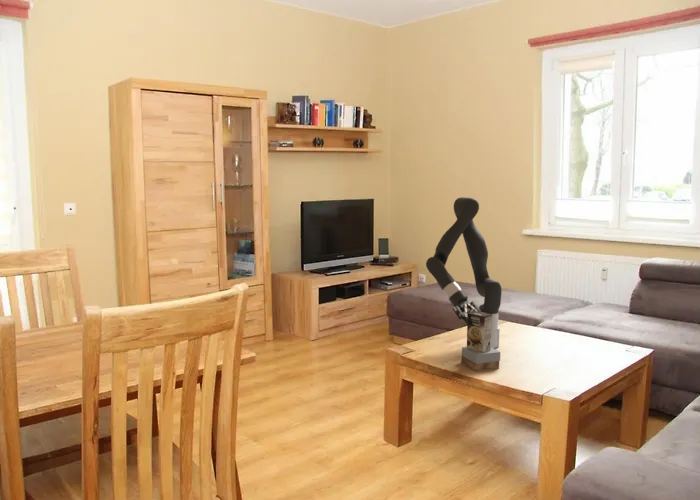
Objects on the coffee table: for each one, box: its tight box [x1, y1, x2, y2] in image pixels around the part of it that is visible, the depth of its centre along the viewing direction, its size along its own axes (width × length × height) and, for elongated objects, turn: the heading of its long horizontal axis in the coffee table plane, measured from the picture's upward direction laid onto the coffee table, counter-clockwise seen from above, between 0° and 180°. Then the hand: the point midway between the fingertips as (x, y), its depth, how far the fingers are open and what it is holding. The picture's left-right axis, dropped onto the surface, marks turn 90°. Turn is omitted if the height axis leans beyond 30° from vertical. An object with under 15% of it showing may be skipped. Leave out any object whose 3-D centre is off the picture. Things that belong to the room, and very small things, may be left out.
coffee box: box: [466, 311, 492, 352], centre depth 272 cm, size 9×6×16 cm
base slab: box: [460, 355, 500, 372], centre depth 274 cm, size 12×12×4 cm
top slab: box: [461, 346, 501, 364], centre depth 273 cm, size 12×12×4 cm
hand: (476, 323), depth 272 cm, fingers open, 8 cm apart
